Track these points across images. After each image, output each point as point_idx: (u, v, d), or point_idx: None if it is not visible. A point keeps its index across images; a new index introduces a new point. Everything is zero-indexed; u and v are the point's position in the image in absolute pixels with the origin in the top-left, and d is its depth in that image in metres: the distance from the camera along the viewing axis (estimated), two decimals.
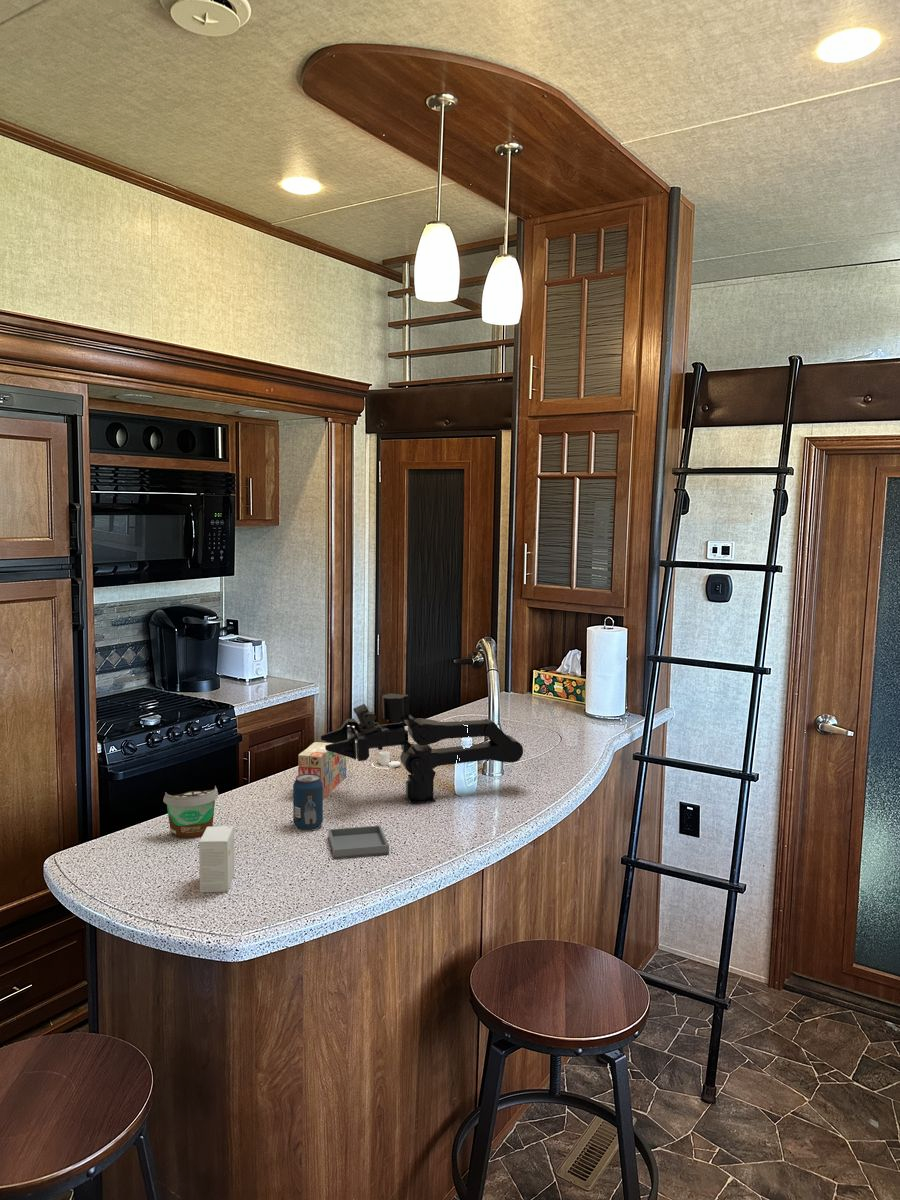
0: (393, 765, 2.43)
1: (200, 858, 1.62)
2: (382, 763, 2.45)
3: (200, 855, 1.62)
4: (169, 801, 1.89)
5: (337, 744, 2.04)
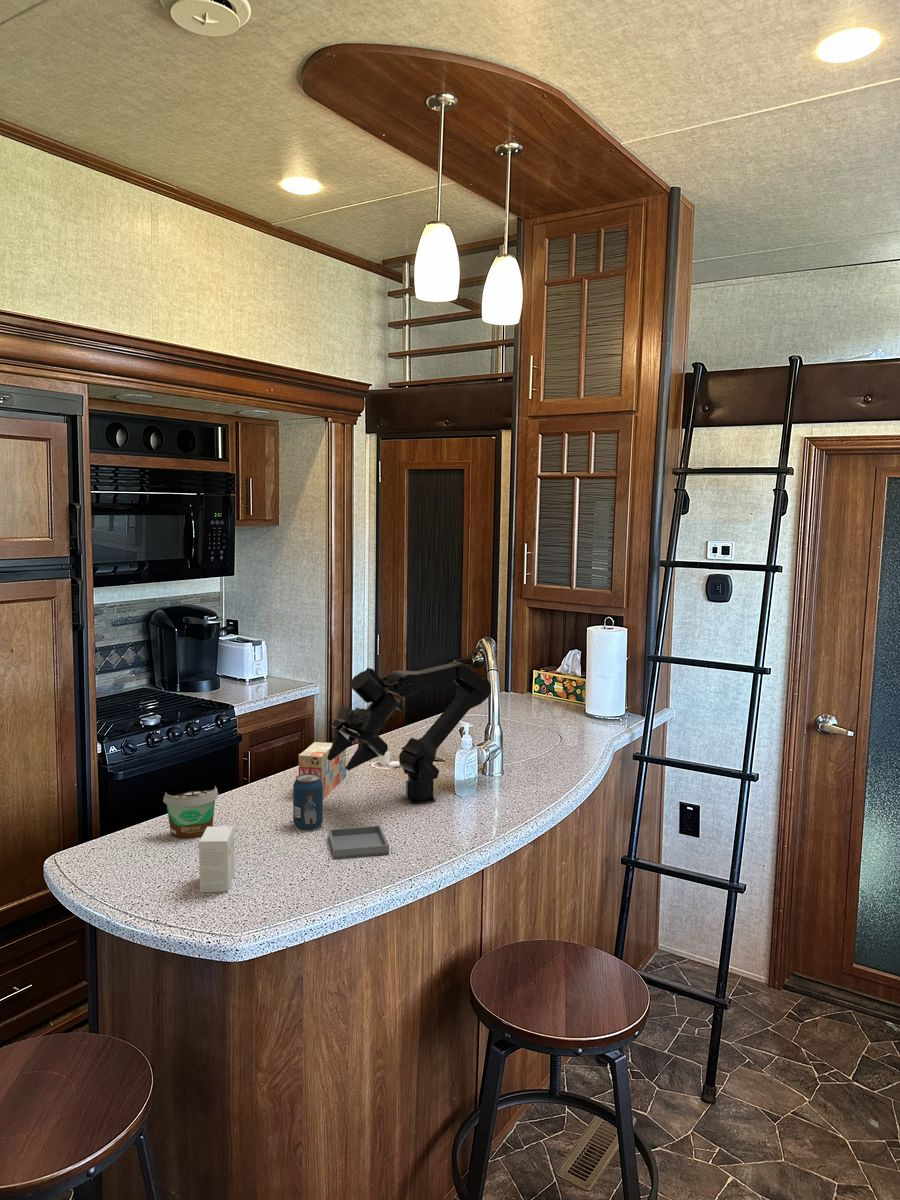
0: (393, 765, 2.43)
1: (200, 858, 1.62)
2: (382, 763, 2.45)
3: (200, 855, 1.62)
4: (169, 801, 1.89)
5: (354, 758, 1.97)
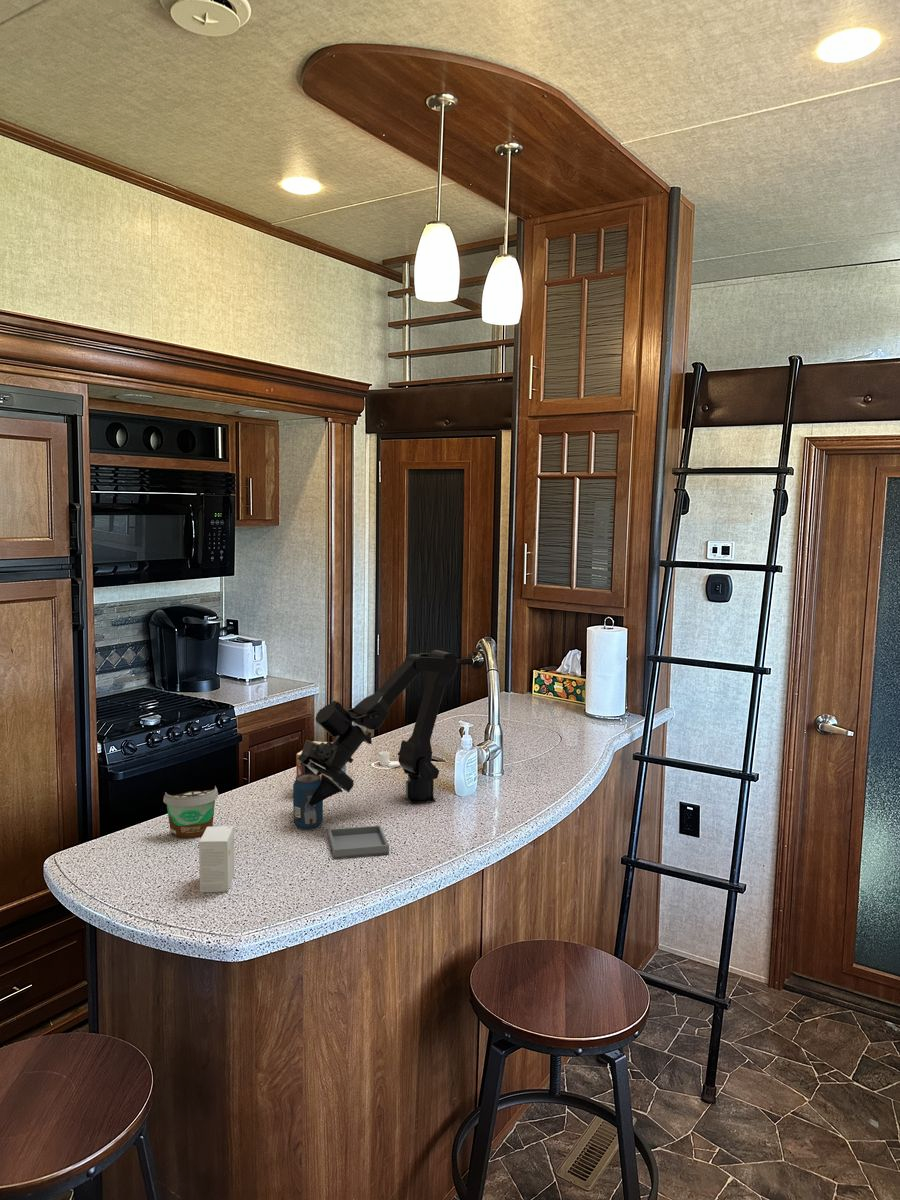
0: (393, 765, 2.43)
1: (200, 858, 1.62)
2: (382, 763, 2.45)
3: (200, 855, 1.62)
4: (169, 801, 1.89)
5: (317, 794, 1.93)
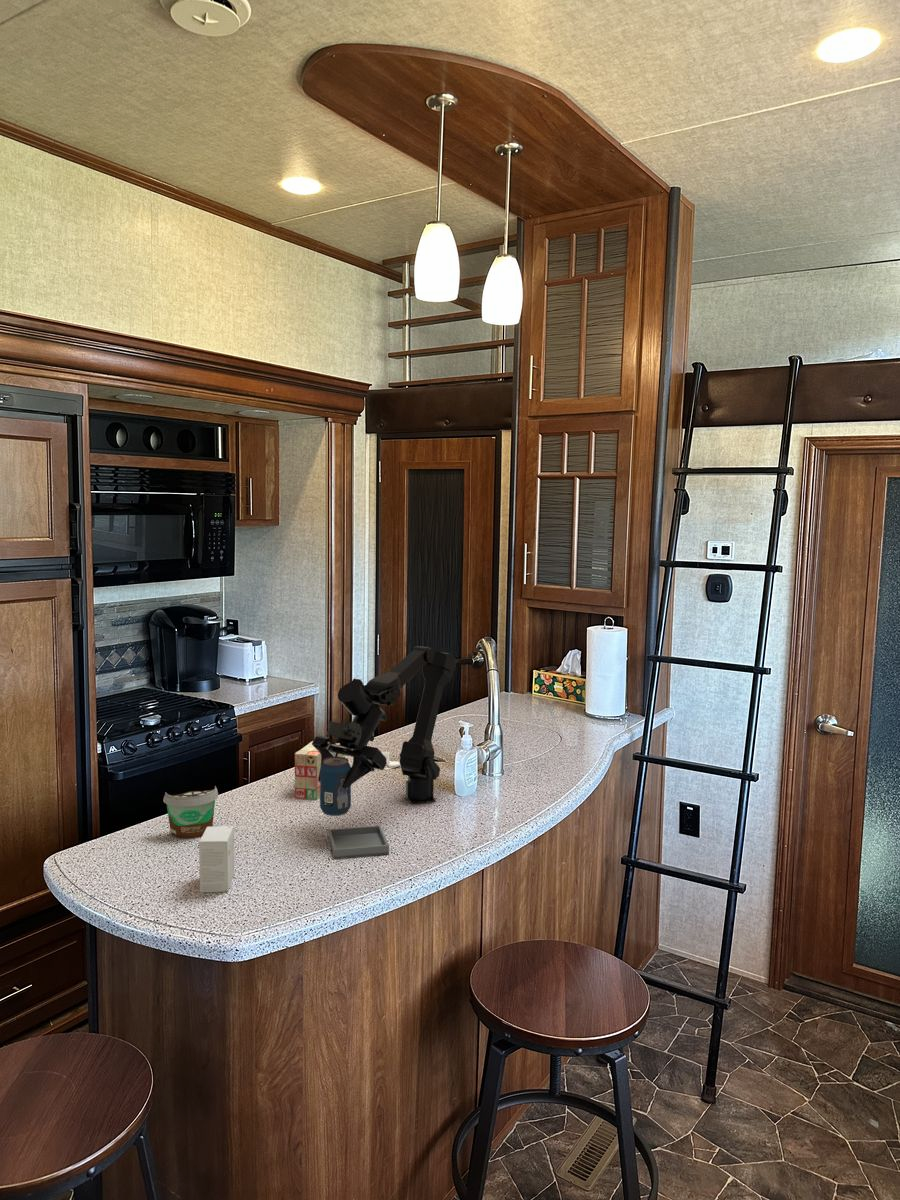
0: (393, 765, 2.43)
1: (200, 858, 1.62)
2: None
3: (200, 855, 1.62)
4: (169, 801, 1.89)
5: (351, 775, 1.86)
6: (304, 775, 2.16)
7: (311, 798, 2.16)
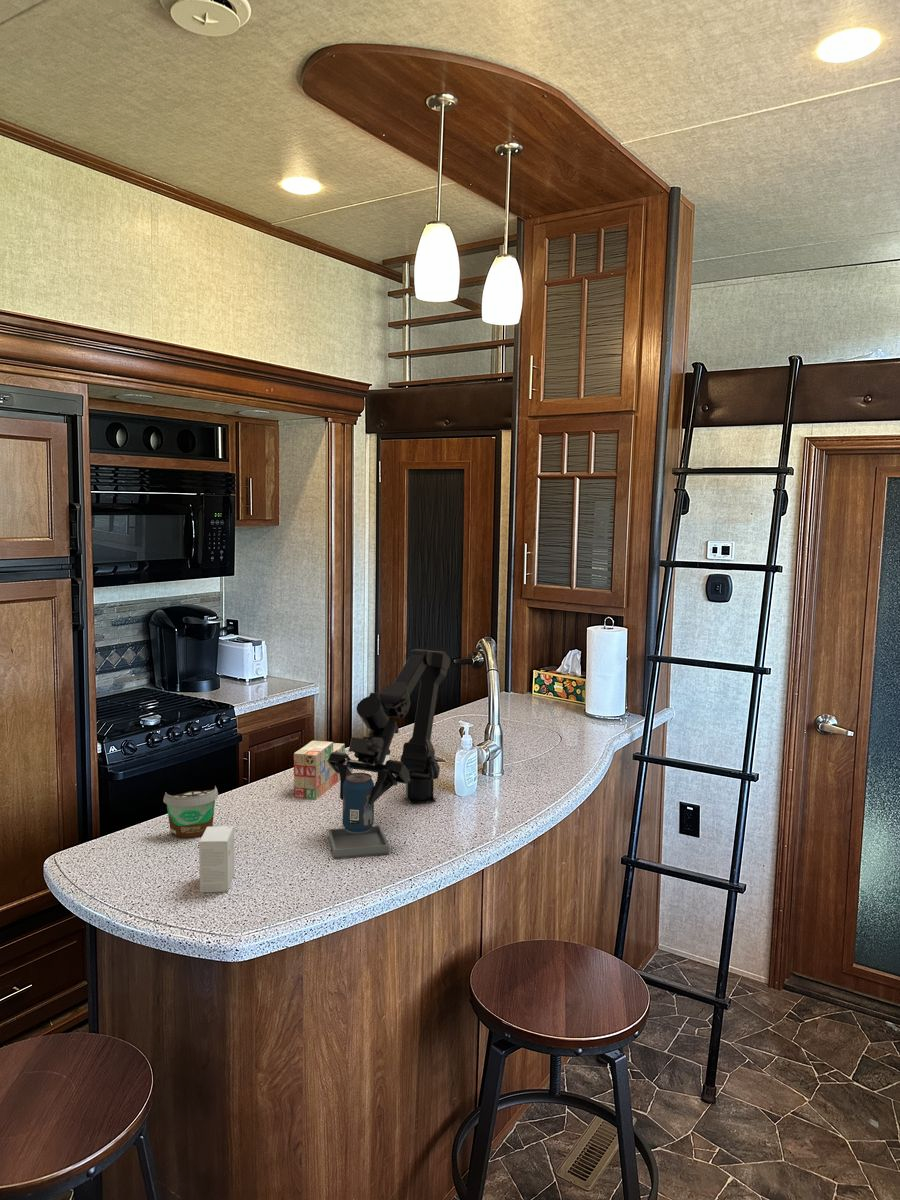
0: None
1: (200, 858, 1.62)
2: None
3: (200, 855, 1.62)
4: (169, 801, 1.89)
5: (377, 791, 1.84)
6: (303, 774, 2.16)
7: (310, 798, 2.16)
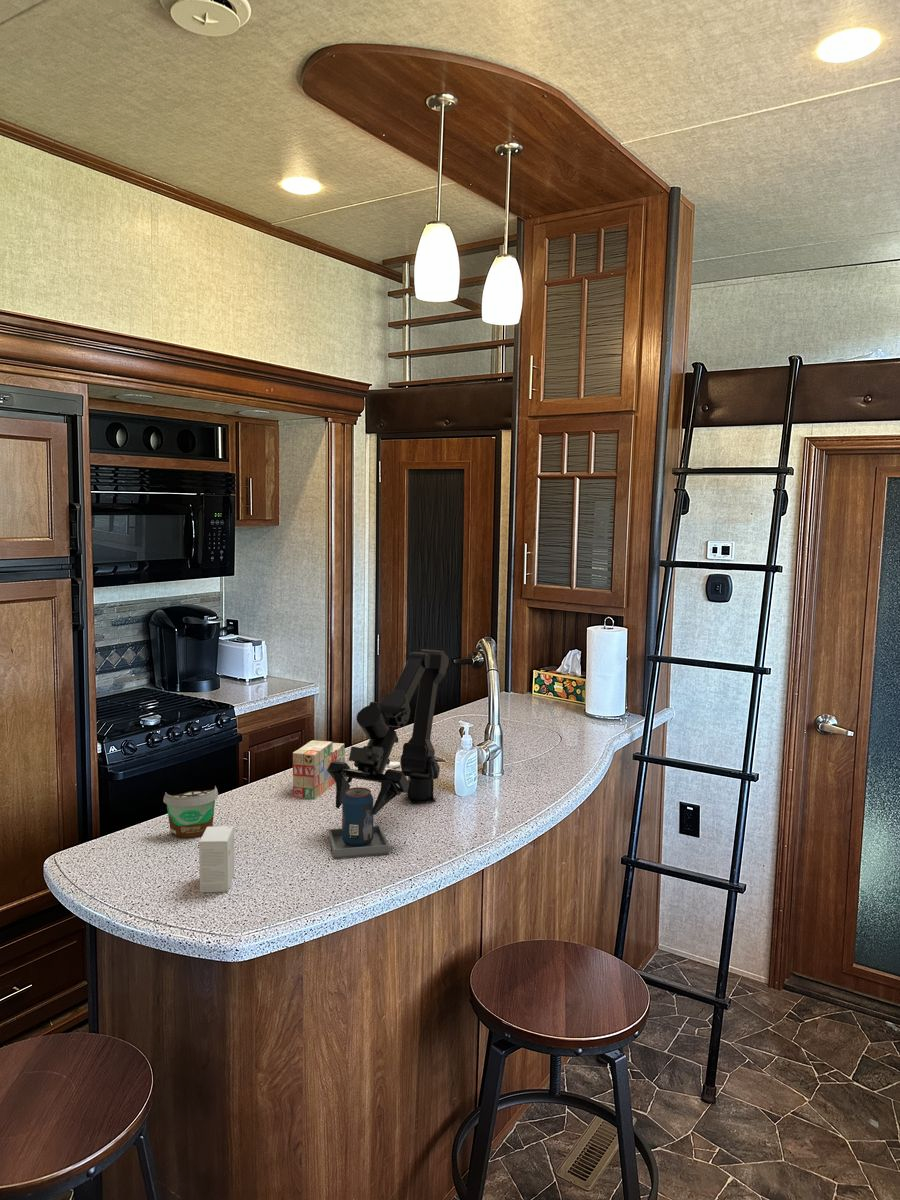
0: (393, 765, 2.43)
1: (200, 858, 1.62)
2: None
3: (200, 855, 1.62)
4: (169, 801, 1.89)
5: (380, 801, 1.83)
6: (301, 774, 2.16)
7: (309, 797, 2.17)
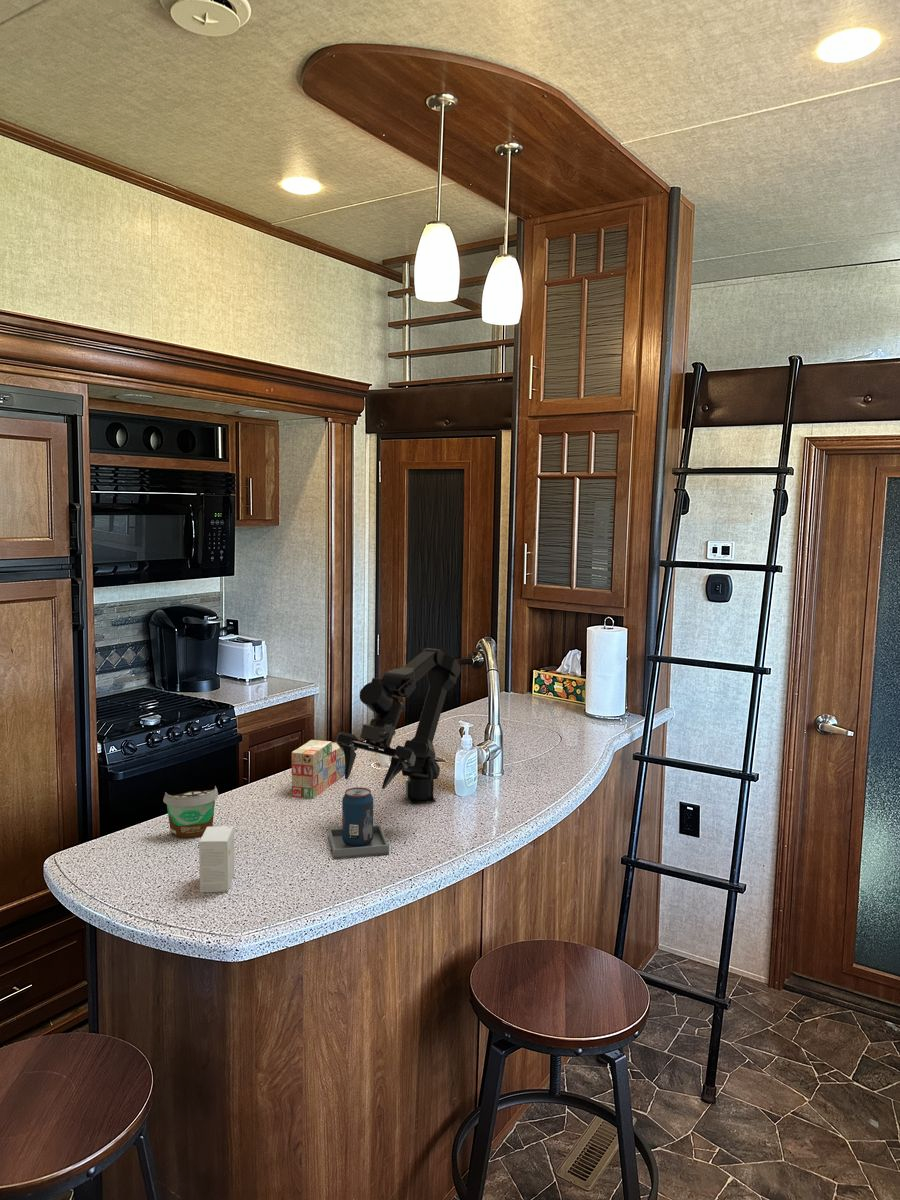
0: None
1: (200, 858, 1.62)
2: (381, 764, 2.45)
3: (200, 855, 1.62)
4: (169, 801, 1.89)
5: (390, 776, 1.91)
6: (300, 773, 2.17)
7: (307, 797, 2.17)
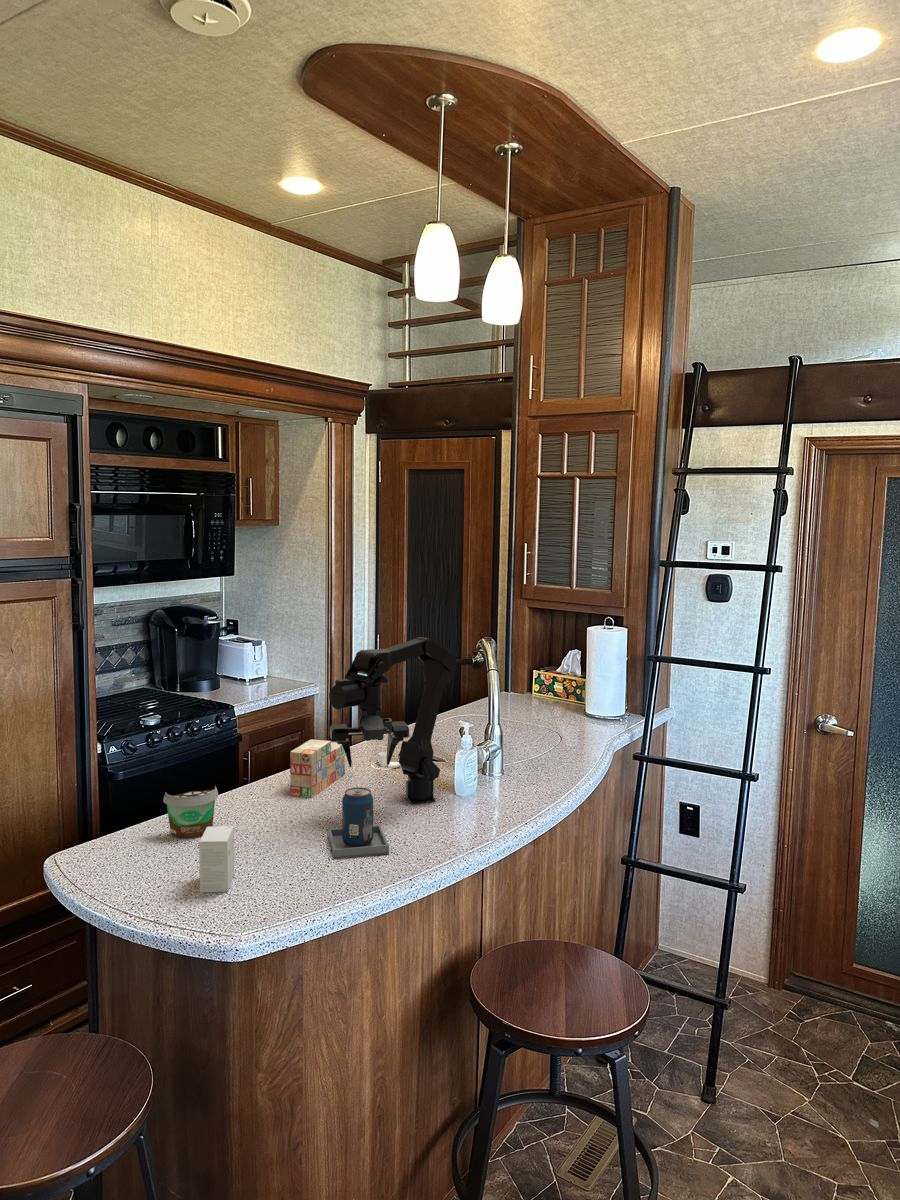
0: (392, 766, 2.42)
1: (200, 858, 1.62)
2: (381, 764, 2.44)
3: (200, 855, 1.62)
4: (169, 801, 1.89)
5: (392, 753, 2.03)
6: (299, 773, 2.17)
7: (306, 796, 2.17)
